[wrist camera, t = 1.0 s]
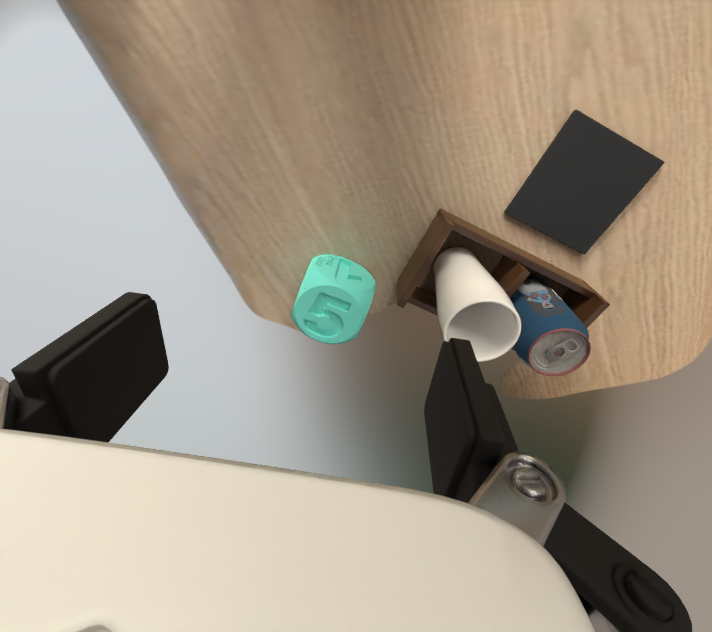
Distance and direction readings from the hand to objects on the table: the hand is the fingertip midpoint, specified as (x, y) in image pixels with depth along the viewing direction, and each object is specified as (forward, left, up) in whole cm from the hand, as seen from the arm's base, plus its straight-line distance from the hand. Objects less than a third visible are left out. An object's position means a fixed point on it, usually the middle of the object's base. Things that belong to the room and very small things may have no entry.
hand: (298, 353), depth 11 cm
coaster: (-9, +21, -32) cm, 40 cm away
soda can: (+4, +24, -32) cm, 41 cm away
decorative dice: (+13, +2, -32) cm, 35 cm away
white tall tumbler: (+4, +15, -32) cm, 36 cm away
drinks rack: (+4, +19, -32) cm, 38 cm away
